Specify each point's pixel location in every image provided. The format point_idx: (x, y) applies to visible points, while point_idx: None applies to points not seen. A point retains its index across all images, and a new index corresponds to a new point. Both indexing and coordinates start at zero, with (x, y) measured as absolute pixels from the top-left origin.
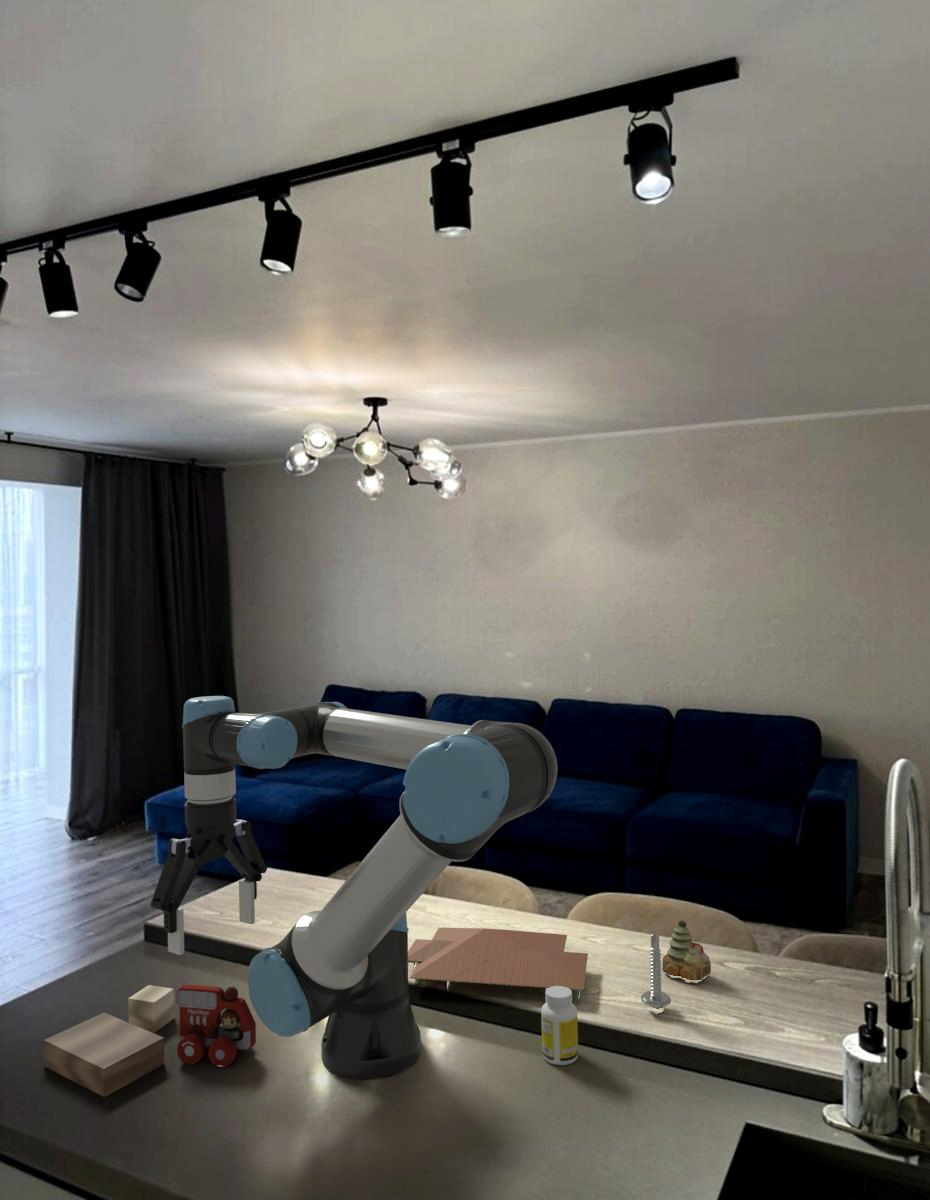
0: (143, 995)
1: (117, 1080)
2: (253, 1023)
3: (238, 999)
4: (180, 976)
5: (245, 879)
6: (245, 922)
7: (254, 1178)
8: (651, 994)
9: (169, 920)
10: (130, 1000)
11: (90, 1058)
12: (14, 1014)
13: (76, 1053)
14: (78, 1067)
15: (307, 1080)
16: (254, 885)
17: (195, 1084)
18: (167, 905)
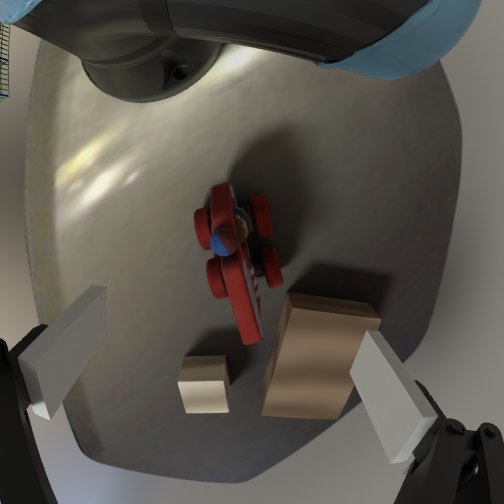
0: (213, 402)
1: (356, 306)
2: (218, 187)
3: (221, 223)
4: (107, 404)
5: (29, 401)
6: (106, 311)
7: None
8: None
9: (437, 408)
10: (228, 408)
11: None
12: (254, 474)
13: None
14: None
15: (248, 74)
16: (19, 353)
17: (314, 217)
18: (484, 433)
